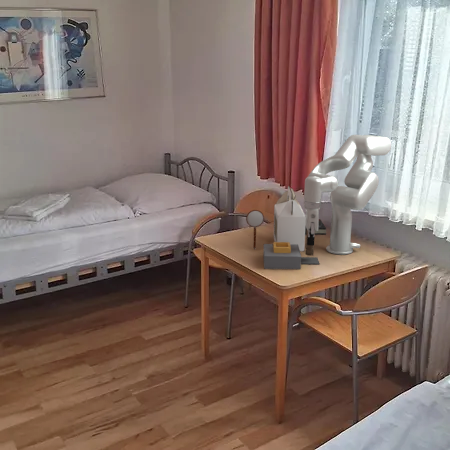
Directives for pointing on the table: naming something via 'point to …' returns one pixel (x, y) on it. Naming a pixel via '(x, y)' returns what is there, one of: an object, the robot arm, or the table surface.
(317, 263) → the pad
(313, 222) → the robot arm
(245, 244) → the table surface
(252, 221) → the magnifying glass
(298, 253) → the box
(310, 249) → the brown cylinder
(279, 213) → the gable box
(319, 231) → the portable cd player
